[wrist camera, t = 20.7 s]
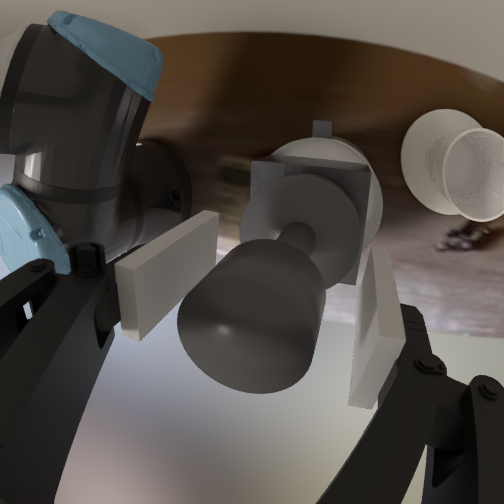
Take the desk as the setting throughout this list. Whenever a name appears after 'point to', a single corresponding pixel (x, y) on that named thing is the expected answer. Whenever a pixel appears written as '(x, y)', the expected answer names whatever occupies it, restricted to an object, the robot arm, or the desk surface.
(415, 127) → the saucer
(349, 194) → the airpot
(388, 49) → the desk surface
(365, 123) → the desk surface
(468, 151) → the white cup
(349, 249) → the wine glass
